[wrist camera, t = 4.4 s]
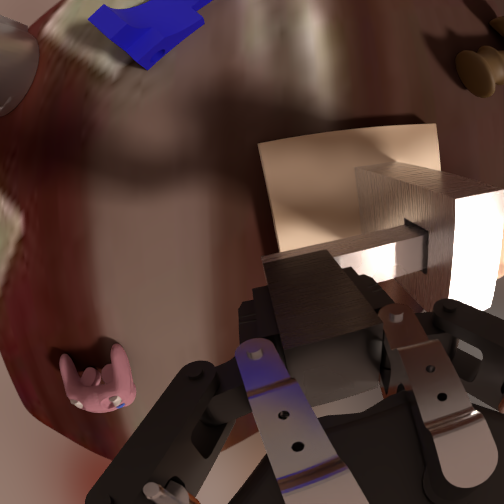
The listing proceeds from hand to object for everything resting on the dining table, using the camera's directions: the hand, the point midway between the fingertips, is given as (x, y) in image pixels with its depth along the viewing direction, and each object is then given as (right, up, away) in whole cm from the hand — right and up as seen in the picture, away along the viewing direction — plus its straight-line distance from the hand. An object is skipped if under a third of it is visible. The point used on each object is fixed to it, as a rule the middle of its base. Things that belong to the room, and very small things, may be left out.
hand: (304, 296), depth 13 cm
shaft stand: (+7, +6, +11) cm, 15 cm away
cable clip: (-8, +22, +4) cm, 24 cm away
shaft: (+7, +3, +3) cm, 8 cm away
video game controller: (-20, -11, +16) cm, 28 cm away
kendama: (+27, +25, +6) cm, 37 cm away
